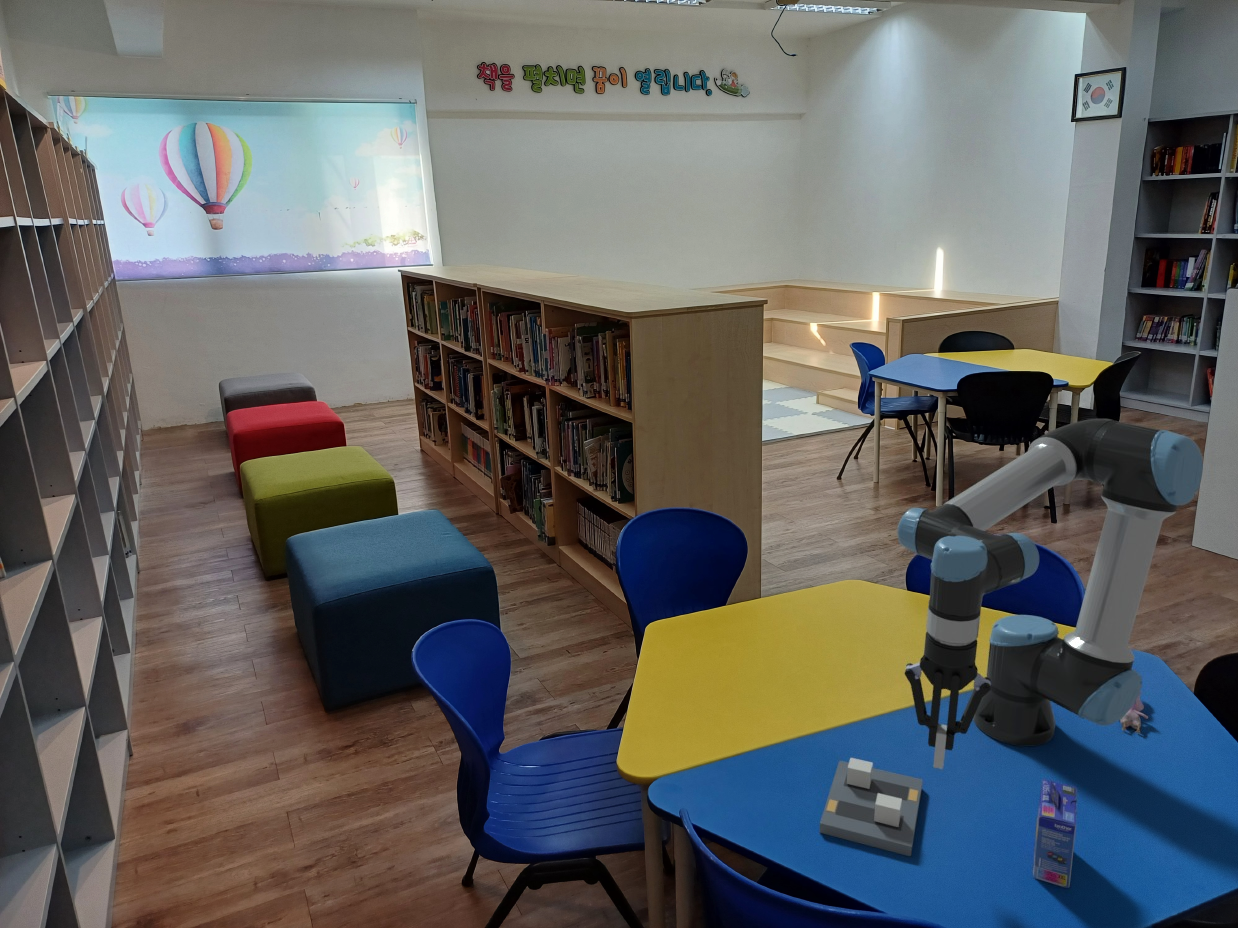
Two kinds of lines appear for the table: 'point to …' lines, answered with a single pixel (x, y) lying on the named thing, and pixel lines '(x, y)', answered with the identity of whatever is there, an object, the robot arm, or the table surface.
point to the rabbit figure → (1133, 716)
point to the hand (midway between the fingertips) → (938, 763)
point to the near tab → (888, 810)
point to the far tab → (859, 773)
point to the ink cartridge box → (1055, 833)
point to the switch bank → (872, 810)
